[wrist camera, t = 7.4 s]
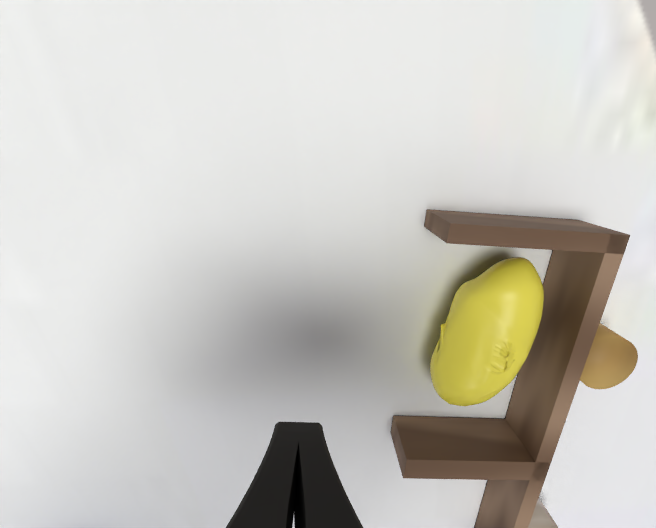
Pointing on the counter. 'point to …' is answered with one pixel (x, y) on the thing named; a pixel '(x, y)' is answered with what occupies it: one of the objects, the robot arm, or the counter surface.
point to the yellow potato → (488, 332)
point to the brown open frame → (527, 368)
